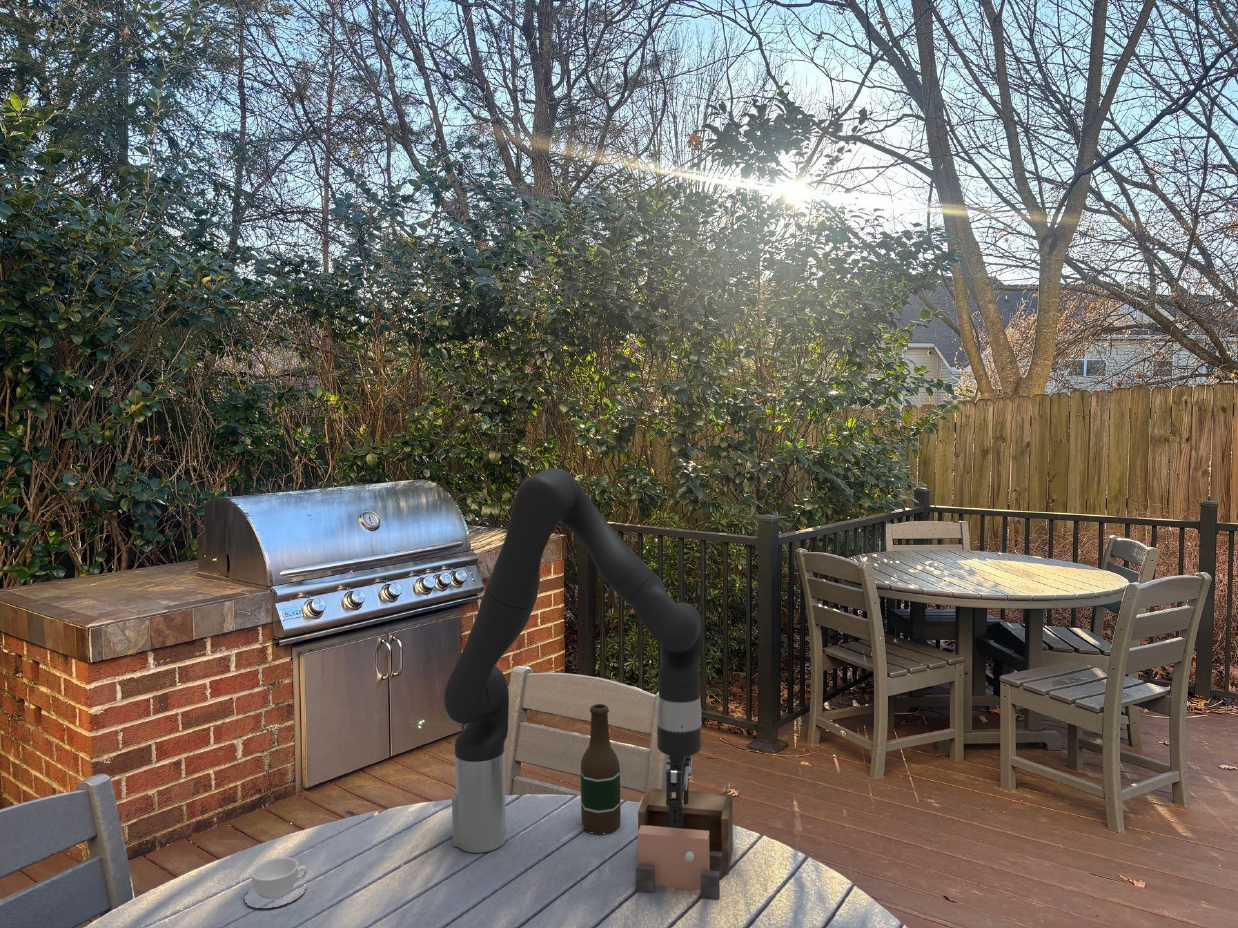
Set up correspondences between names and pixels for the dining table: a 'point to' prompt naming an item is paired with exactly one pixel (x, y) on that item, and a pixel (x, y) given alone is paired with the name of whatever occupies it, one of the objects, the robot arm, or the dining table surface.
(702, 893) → the cabinet
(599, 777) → the beer bottle
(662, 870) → the door
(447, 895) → the dining table surface
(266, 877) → the teacup
